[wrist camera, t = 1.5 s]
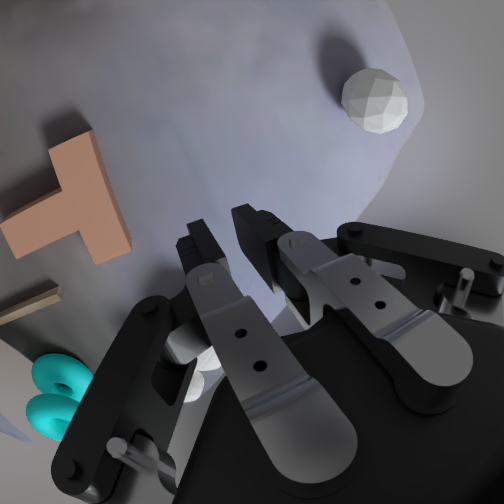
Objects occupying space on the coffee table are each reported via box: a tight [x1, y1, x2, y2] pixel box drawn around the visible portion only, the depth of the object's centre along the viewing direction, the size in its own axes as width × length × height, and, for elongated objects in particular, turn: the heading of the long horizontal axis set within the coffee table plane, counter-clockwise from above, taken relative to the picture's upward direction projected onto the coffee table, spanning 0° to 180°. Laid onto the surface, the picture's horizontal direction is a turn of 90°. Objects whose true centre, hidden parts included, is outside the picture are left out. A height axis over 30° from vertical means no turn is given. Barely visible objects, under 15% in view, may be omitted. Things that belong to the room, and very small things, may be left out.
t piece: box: [0, 130, 132, 265], centre depth 23 cm, size 12×12×3 cm
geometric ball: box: [341, 68, 407, 134], centre depth 27 cm, size 8×8×8 cm
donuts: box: [26, 353, 93, 441], centre depth 28 cm, size 10×10×10 cm
